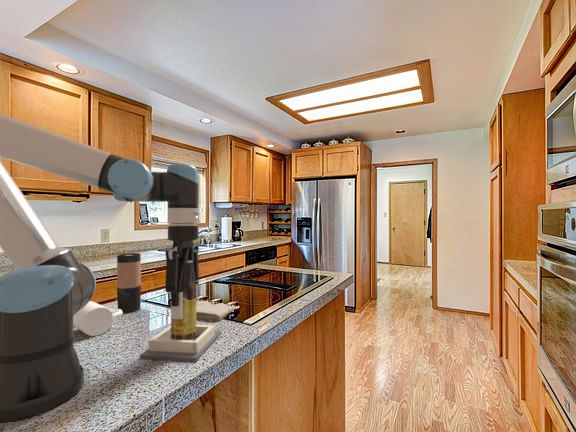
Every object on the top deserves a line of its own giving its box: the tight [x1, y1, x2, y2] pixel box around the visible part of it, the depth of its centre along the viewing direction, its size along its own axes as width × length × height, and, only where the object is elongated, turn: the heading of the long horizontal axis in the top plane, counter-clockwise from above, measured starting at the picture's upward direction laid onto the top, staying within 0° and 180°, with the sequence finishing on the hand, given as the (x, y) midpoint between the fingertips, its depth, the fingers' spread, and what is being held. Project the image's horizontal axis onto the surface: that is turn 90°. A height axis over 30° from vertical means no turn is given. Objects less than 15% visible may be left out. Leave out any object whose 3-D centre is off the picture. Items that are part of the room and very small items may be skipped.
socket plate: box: [139, 324, 222, 362], centre depth 78 cm, size 16×14×3 cm
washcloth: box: [196, 300, 236, 322], centre depth 104 cm, size 12×18×3 cm, turn 70°
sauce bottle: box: [170, 260, 198, 340], centre depth 78 cm, size 7×6×20 cm
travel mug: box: [116, 252, 142, 314], centre depth 108 cm, size 8×8×20 cm
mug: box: [73, 300, 124, 337], centre depth 90 cm, size 12×10×8 cm
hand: (183, 313), depth 78 cm, fingers open, 6 cm apart
